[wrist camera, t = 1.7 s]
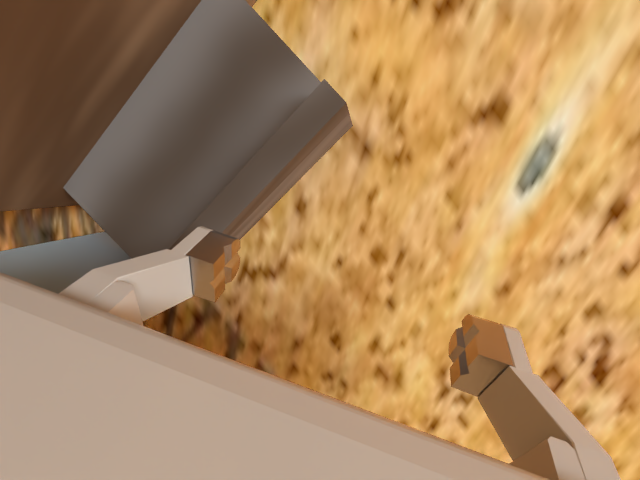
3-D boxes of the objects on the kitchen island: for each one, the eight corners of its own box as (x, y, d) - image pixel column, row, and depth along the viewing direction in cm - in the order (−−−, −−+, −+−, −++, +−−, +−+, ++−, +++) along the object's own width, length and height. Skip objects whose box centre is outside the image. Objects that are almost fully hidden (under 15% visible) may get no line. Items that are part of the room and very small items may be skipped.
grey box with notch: (168, 296, 20) (-22, 406, 10) (116, 350, 21) (-94, 490, 12) (105, 231, 20) (-150, 279, 10) (57, 289, 21) (-206, 380, 11)
